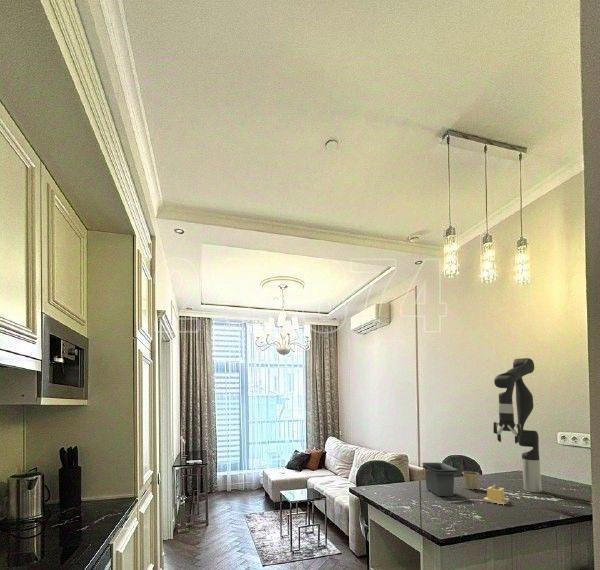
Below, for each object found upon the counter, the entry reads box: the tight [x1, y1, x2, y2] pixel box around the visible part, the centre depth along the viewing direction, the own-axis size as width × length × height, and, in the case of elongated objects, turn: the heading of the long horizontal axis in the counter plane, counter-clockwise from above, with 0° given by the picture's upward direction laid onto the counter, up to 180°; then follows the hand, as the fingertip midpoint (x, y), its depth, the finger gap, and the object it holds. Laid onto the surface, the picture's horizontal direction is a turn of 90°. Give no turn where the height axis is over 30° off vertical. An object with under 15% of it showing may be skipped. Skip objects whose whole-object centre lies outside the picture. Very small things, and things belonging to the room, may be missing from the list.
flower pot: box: [462, 471, 480, 491], centre depth 277 cm, size 9×9×9 cm
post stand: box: [482, 484, 510, 506], centre depth 249 cm, size 10×10×8 cm
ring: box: [486, 485, 506, 501], centre depth 249 cm, size 7×7×5 cm
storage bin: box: [421, 462, 458, 497], centre depth 266 cm, size 21×16×14 cm
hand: (508, 442), depth 264 cm, fingers open, 8 cm apart
